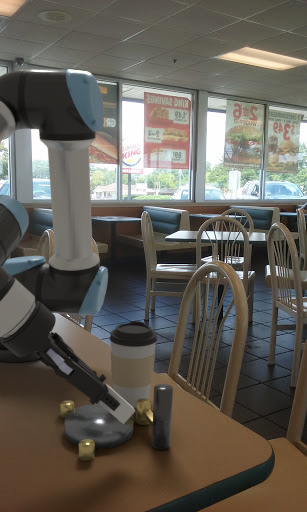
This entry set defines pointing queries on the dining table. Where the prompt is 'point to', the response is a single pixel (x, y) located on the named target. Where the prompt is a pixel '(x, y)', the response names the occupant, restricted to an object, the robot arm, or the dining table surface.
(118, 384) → the coffee cup
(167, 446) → the lever
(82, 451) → the plate
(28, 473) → the dining table surface
